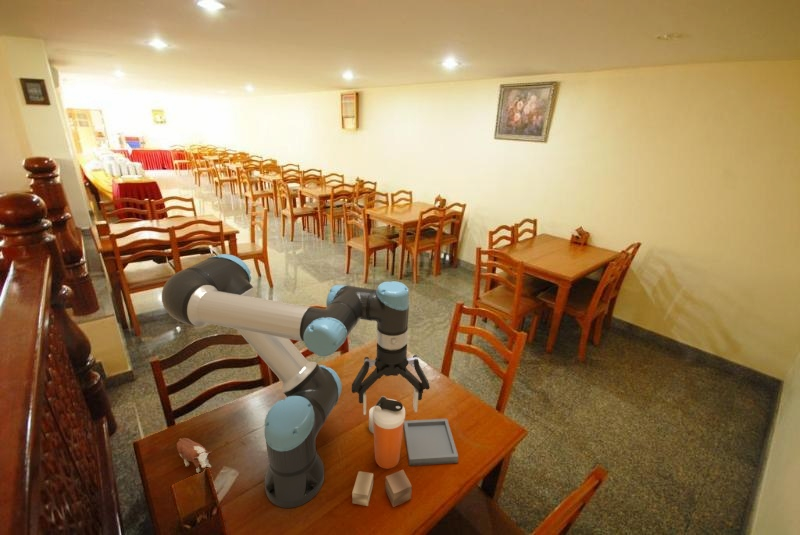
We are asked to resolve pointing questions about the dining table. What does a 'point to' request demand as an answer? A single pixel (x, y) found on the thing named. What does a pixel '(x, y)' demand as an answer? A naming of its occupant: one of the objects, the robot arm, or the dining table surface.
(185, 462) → the bull figurine
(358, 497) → the oak block
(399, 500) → the walnut block
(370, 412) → the ceramic shaker
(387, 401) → the shaker bottle
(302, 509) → the dining table surface
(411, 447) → the tray
